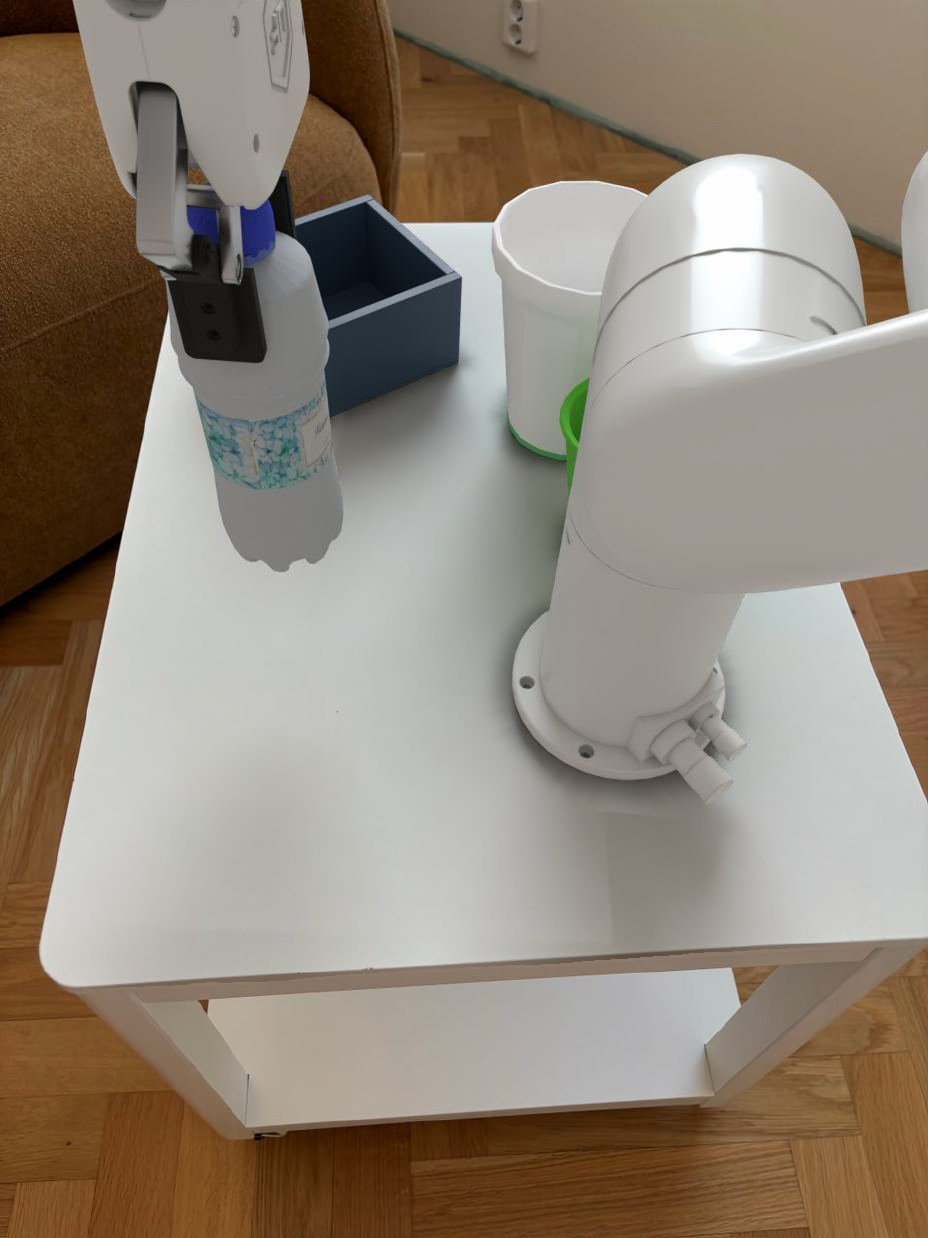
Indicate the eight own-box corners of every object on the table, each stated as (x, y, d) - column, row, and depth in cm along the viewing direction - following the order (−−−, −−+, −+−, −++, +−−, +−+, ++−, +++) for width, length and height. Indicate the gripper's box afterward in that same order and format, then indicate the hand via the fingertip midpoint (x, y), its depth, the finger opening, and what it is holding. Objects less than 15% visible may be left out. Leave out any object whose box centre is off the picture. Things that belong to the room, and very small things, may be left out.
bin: (459, 362, 77) (462, 276, 71) (317, 422, 72) (308, 337, 66) (372, 279, 83) (368, 193, 77) (236, 330, 78) (220, 244, 72)
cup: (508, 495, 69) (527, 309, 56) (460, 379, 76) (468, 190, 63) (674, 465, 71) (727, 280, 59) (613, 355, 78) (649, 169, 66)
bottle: (344, 588, 52) (303, 243, 36) (215, 584, 52) (115, 236, 35) (355, 494, 56) (322, 145, 40) (235, 490, 56) (153, 139, 39)
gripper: (205, -137, 22) (296, 455, 36) (331, -322, 32) (364, 198, 47) (-127, -156, 22) (95, 440, 37) (104, -334, 32) (206, 187, 47)
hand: (245, 301), depth 42 cm, fingers closed on bottle, 6 cm apart
